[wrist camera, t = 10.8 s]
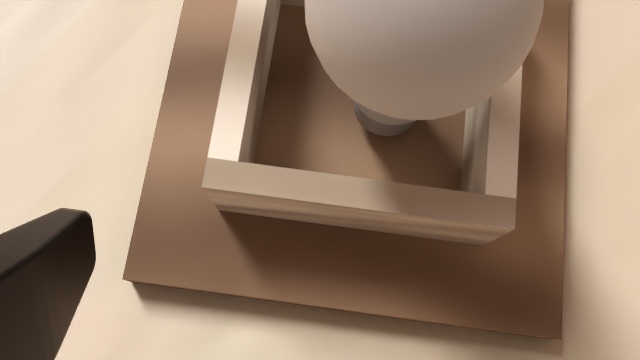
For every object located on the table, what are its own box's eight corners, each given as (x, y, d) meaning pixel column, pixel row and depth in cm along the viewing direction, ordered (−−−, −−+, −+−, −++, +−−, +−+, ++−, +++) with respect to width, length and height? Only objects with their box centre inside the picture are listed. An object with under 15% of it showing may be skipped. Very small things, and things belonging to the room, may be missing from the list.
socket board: (550, 339, 22) (609, 340, 17) (130, 281, 22) (86, 268, 18) (560, -29, 26) (610, -102, 22) (207, -73, 26) (187, -154, 22)
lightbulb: (357, 216, 22) (402, 109, 11) (278, 86, 23) (250, -121, 12) (490, 139, 23) (650, -29, 12) (407, 18, 24) (484, -230, 13)
